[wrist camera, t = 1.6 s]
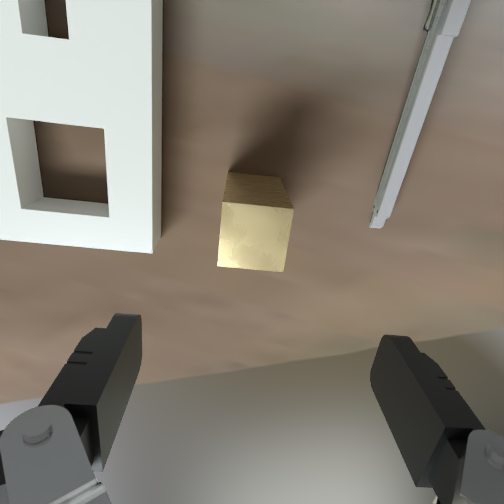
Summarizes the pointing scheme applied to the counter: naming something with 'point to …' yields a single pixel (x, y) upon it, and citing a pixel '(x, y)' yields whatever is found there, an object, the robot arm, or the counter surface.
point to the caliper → (418, 100)
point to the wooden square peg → (254, 223)
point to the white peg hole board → (83, 119)
